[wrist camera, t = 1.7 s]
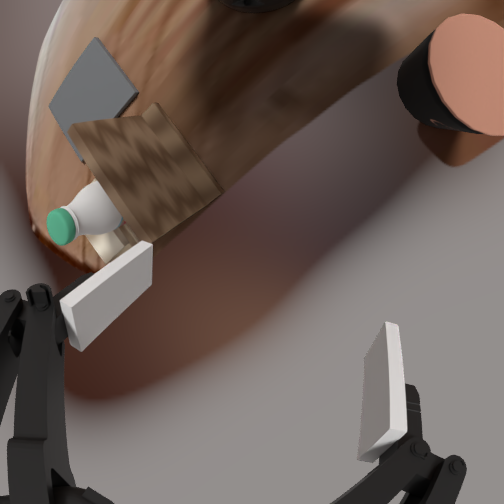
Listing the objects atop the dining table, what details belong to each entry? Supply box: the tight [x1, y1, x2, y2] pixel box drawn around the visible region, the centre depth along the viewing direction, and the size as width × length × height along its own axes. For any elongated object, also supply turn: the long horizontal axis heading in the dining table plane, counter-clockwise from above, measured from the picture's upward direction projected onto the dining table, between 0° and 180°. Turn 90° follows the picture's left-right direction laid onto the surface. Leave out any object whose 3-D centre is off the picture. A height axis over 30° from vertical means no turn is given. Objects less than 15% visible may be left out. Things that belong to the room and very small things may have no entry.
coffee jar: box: [397, 14, 504, 136], centre depth 23 cm, size 11×11×18 cm
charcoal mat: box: [48, 37, 139, 162], centre depth 45 cm, size 16×18×1 cm
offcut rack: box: [67, 103, 224, 264], centre depth 44 cm, size 18×26×16 cm
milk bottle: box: [47, 181, 126, 246], centre depth 41 cm, size 8×8×20 cm
